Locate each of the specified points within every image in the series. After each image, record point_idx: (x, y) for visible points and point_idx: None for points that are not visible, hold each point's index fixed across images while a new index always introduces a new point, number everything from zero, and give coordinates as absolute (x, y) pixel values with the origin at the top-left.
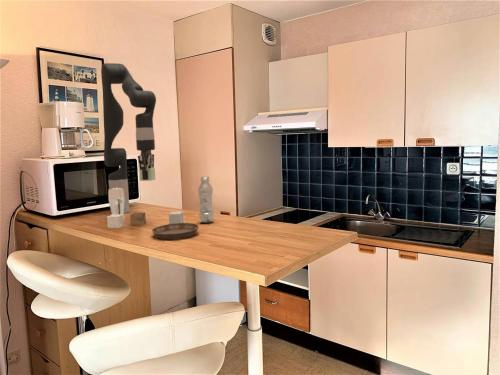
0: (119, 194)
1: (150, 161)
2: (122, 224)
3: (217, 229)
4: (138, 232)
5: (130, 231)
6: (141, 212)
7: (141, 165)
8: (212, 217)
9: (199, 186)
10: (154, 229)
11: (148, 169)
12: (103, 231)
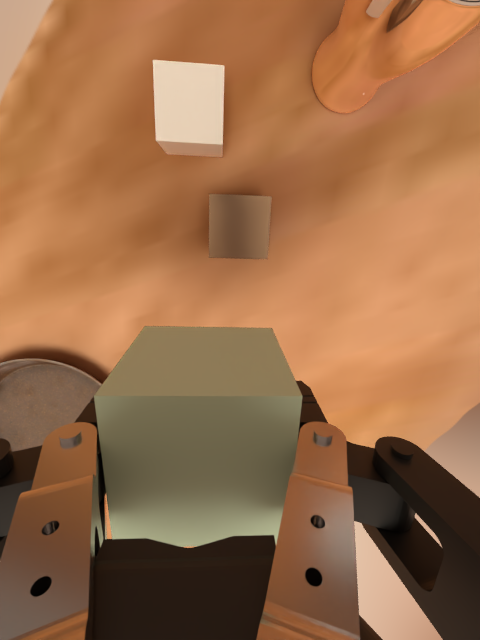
0: (390, 14)
1: (444, 584)
2: (205, 154)
3: None
4: (82, 278)
5: (98, 237)
6: (268, 238)
7: (28, 493)
8: None
9: None
10: (39, 360)
11: (115, 509)
12: (91, 96)
